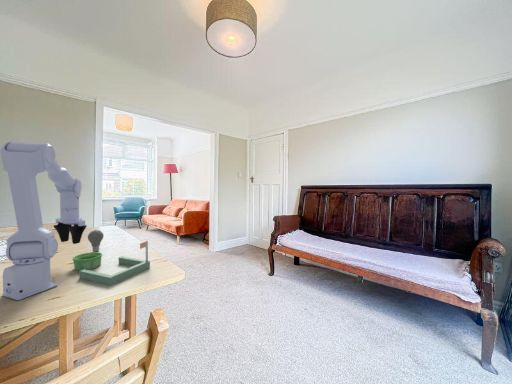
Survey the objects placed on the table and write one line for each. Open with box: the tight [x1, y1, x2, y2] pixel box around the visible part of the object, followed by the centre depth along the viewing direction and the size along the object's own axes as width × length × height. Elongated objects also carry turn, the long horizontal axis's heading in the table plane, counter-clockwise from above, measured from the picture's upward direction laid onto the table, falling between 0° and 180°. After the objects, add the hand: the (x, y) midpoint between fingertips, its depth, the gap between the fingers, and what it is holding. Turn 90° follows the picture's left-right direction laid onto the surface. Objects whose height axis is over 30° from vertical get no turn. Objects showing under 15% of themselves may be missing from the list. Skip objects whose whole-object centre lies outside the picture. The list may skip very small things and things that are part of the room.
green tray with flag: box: [78, 240, 151, 286], centre depth 79 cm, size 16×14×10 cm
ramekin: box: [72, 251, 103, 271], centre depth 84 cm, size 9×9×4 cm
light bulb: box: [87, 229, 105, 252], centre depth 103 cm, size 6×6×10 cm
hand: (70, 242), depth 87 cm, fingers open, 6 cm apart
